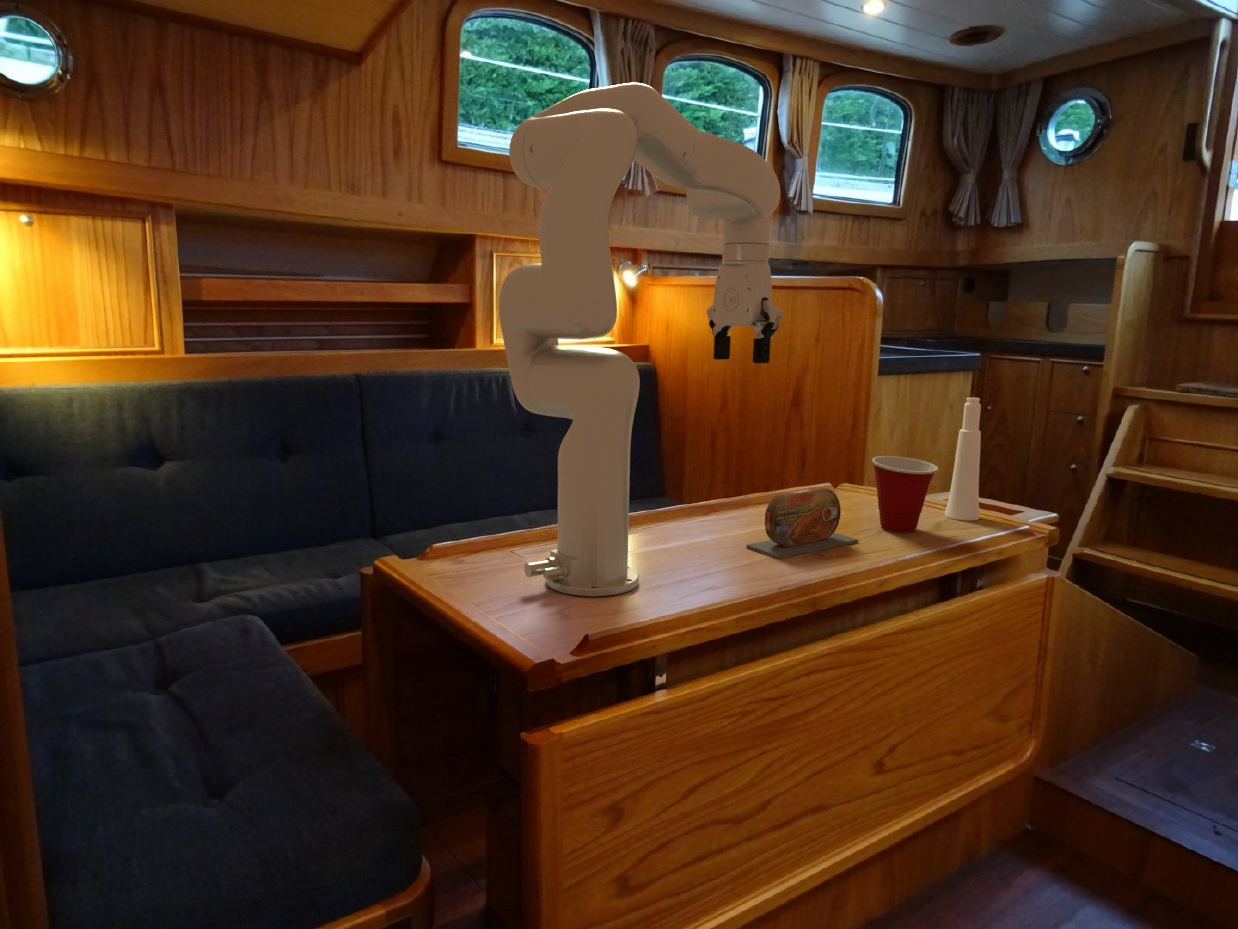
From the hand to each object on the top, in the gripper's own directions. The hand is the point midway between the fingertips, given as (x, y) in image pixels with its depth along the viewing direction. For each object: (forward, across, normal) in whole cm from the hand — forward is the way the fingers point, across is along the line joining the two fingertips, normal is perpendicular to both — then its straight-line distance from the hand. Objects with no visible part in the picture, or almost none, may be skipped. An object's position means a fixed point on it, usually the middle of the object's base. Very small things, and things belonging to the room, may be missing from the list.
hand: (740, 361), depth 143 cm
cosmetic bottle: (+28, +17, +41) cm, 53 cm away
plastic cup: (+28, +17, +23) cm, 40 cm away
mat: (+28, +16, +1) cm, 32 cm away
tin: (+28, +15, +1) cm, 32 cm away
